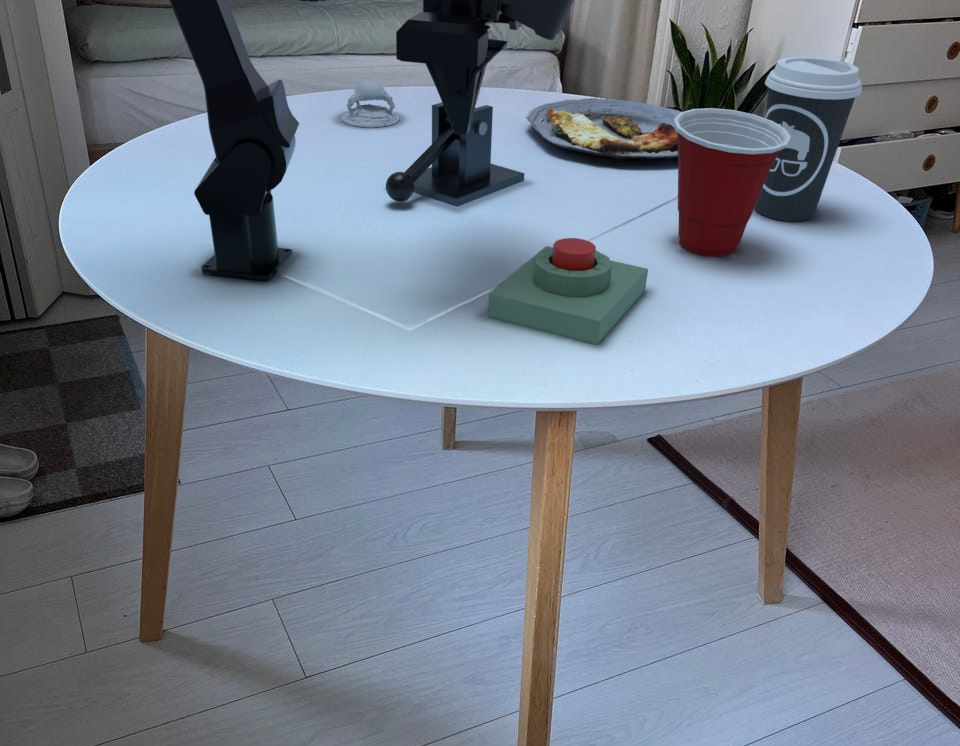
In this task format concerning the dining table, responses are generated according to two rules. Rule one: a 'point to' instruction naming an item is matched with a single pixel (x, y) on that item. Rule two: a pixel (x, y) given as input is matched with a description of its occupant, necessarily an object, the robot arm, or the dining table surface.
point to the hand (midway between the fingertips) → (461, 133)
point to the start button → (573, 254)
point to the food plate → (608, 127)
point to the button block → (568, 296)
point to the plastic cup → (721, 175)
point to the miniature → (370, 107)
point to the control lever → (419, 166)
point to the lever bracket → (465, 163)
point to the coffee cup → (805, 131)
